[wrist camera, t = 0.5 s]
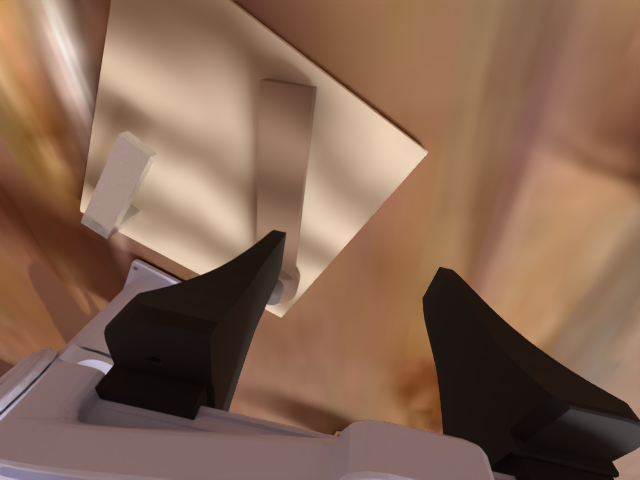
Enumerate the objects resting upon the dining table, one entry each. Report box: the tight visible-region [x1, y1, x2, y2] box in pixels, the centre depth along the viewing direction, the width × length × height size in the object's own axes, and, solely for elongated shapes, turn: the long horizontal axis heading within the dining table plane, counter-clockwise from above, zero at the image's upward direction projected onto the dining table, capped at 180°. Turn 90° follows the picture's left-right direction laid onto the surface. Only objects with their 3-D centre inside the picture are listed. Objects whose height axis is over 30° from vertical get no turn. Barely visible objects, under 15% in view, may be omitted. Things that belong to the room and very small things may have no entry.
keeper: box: [81, 131, 158, 239], centre depth 20 cm, size 8×2×3 cm, turn 138°
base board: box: [80, 0, 428, 317], centre depth 22 cm, size 20×20×1 cm
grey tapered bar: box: [257, 78, 317, 305], centre depth 20 cm, size 17×4×3 cm, turn 172°
